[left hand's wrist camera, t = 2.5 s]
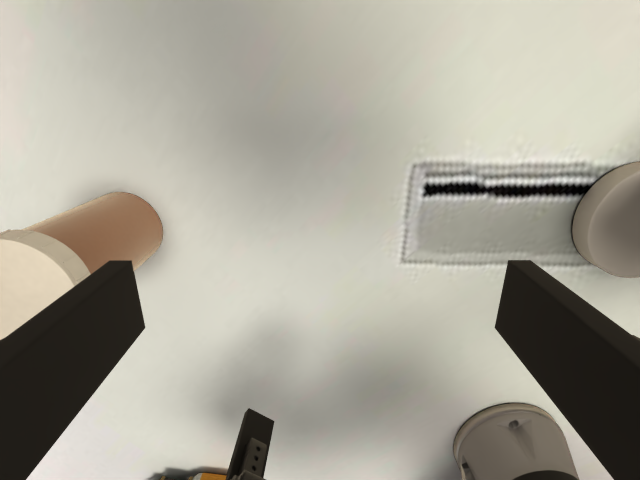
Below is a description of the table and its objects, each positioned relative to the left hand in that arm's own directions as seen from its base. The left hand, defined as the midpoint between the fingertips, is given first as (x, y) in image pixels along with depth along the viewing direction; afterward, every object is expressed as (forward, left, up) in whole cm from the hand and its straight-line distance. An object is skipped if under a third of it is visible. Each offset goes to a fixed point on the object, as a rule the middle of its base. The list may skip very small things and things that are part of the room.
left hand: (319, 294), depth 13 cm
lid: (+7, -22, -12) cm, 26 cm away
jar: (+7, -22, -28) cm, 36 cm away
